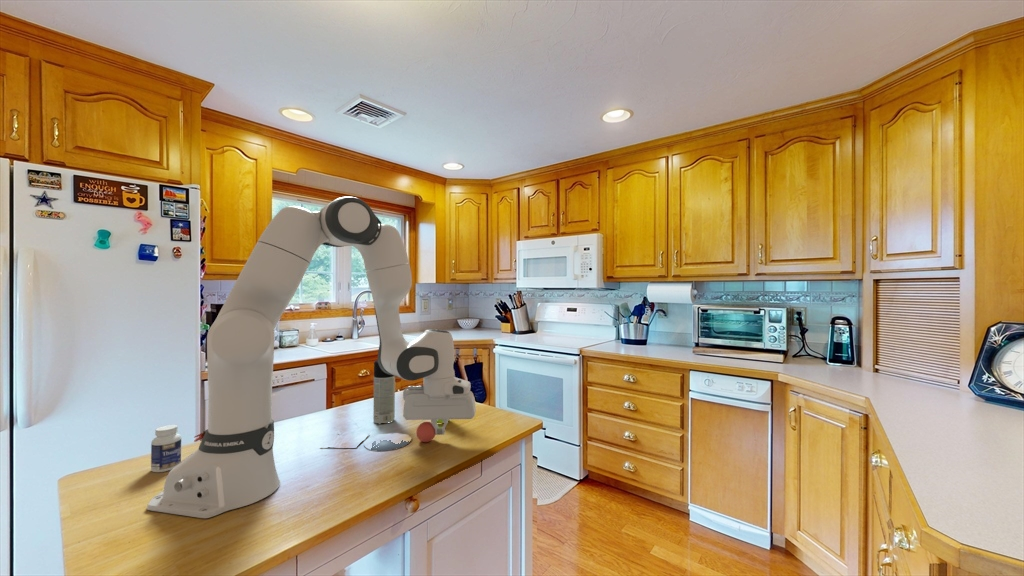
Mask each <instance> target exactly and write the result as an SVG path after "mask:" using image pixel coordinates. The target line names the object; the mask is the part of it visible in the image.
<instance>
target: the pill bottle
mask: <svg viewBox="0 0 1024 576" xmlns="http://www.w3.org/2000/svg"><path fill="white" fill-rule="evenodd" d="M178 429H179V428H178V425H177V424H168V425H167V424H166V425H163V426H159V427H157V428H156V429H155V434H154V435H155V436H156V437H154V438H153V439H152V441H151V444H150V449H151V450H150V452H151V453H150V454H151V455H150V470H151V472H153V473H163V472H170V471H171V470H172V469H173V468H174V467H175V466H176V465H178V464H179V463H180V462H182V435H181V434H180V433H178Z"/></svg>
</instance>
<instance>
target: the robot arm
mask: <svg viewBox="0 0 1024 576" xmlns="http://www.w3.org/2000/svg"><path fill="white" fill-rule="evenodd" d="M321 246H328V247H333V248H334V247H335V248H342V247H354V248H355V249H356V250H357V251H358V252H359V253H360V255H361V257H362V258H361V259H363V264H364V268H365V269H364V270H365V273H366V279H367V281H368V285H369V289H370V293H371V296H372V297H371V298H372V301H373V307H374V314H375V320H376V325H377V331H378V337H379V338H378V339H379V346H378V352H377V360H378V364H379V367H380V368H381V370H382V371H384V372H385V373H387V374H389V375H394V376H395V377H397V378H399V379H402V380H405V381H410V382H412V381H413V382H414V381H418V380H421V379H422V381H423V382H422V383H423V385H416V386H415V385H407V386H408V387H405V389H403V391H402V399H403V401H404V402H403V403H404V404H403V413H402V414H403V418H404V419H405V420H406V421H409V420H410V421H415V420H417V421H420V420H421V421H423V420H426V421H427V420H428V421H429V420H430V422H431V424H432V425H433V427H434V429H435V436H436V435H437V436H440V435H441V436H442V435H443V436H444V435H446V434H445V433H446V427H447V425H448V423H449V422H450V420H473V418H474V417H475V415H476V412H477V411H476V410H477V409H476V401H475V396H474V393H473V391H471V388H472V387H471V386H472V385H471V382H470V381H468V380H466V379H463V378H458V377H456V375H455V374H456V373H455V369H454V363H455V344H454V340H453V336H452V333H451V332H450V331H448V330H444V329H437V328H428V329H425V330H424V332H423V333H422V334H421V335H419V336H418V337H416V338H415V339H413V340H411V341H409V342H408V341H407V340H406V338H405V337H404V335H403V330H402V323H401V318H400V305H401V303H402V301H403V299H404V298H405V297H406V296H408V294H409V293H410V292H411V289H412V286H413V283H412V282H413V281H412V280H413V277H412V269H411V266H410V261H409V257H408V253H407V250H406V247H405V244H404V242H403V239H402V236H401V234H400V232H399V230H398V229H397V228H396V227H394V225H393V226H392V225H390V224H386V223H382V221H381V220H380V218H378V216H377V214H375V212H374V211H373V209H372V208H371V206H370V205H369V204H368V203H367V202H365V201H364V200H362V199H360V198H358V197H354V196H342V197H338V198H336V199H334V200H333V201H330V202H329V203H327V204H326V205H324V207H322V208H320V209H319V210H318V211H311V210H309V209H307V208H304V207H301V206H297V205H289V206H285V207H283V208H281V209H280V210H279V211H278V212H277V213H276V214H275V215H274V217H273V218H272V219H271V220H270V222H269V223H268V225H267V226H266V228H264V231H262V233H261V235H260V237H259V239H258V240H257V242H256V244H255V246H254V247H253V249H252V251H251V253H250V255H249V256H248V258H247V261H246V262H245V264H244V266H243V268H242V269H241V271H240V273H239V275H238V277H237V279H236V281H235V282H234V285H233V286H232V287H231V288H232V289H231V290H230V292H229V294H228V296H227V298H226V299H225V301H224V303H223V305H222V307H221V309H220V310H219V312H218V315H217V317H216V318H215V320H214V322H213V323H212V324H211V326H210V327H209V329H208V332H207V335H206V336H207V337H206V361H207V364H206V365H207V390H208V392H207V395H208V397H207V400H208V403H207V407H208V408H207V409H208V410H207V411H208V412H207V413H208V414H207V429H205V430H204V431H202V432H201V433H199V434H197V435H195V436H193V438H196V439H194V441H193V442H194V443H195V442H198V441H200V440H201V441H200V444H199V446H198V449H196V450H194V451H193V452H192V453H190V455H188V456H187V457H186V458H184V459H183V460H181V462H180V463H179V464H178V465H176V466H175V467H174V468H173V469H172V470H169V471H168V474H167V475H166V478H165V481H164V485H163V486H164V487H163V490H162V491H160V492H159V493H158V494H156V495H155V496H154V497H152V498H151V499H150V500H149V502H148V503H147V507H146V509H147V510H148V511H152V512H159V513H165V514H172V515H179V516H184V517H185V516H186V517H192V518H198V519H209V518H212V517H216V516H218V515H220V514H222V513H225V512H228V511H231V510H235V509H238V508H243V507H245V506H248V505H252V504H254V503H256V502H258V501H261V500H263V499H265V498H267V497H269V496H270V495H271V494H273V493H274V492H276V491H277V489H278V488H279V487H280V485H281V481H280V479H279V476H278V472H277V469H276V468H277V467H276V464H275V457H274V450H273V449H274V441H275V440H274V439H275V422H274V419H273V415H272V414H273V413H272V412H273V408H272V406H273V375H274V373H273V372H274V357H275V355H274V353H275V352H274V351H275V328H276V326H277V325H278V323H279V321H280V319H281V317H282V316H283V314H284V312H285V310H286V309H287V307H288V305H289V304H290V303H291V301H292V299H293V297H294V295H295V294H296V292H297V290H298V288H299V286H300V284H301V282H302V280H303V278H304V275H305V274H306V272H307V270H308V268H309V266H310V264H311V262H312V260H313V257H314V255H315V253H316V252H317V250H318V249H319V248H320V247H321ZM438 419H443V423H444V424H442V426H439V425H438V424H437V423H436V422H437V420H438ZM448 421H449V422H448Z"/></svg>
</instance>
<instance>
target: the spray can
mask: <svg viewBox="0 0 1024 576" xmlns="http://www.w3.org/2000/svg"><path fill="white" fill-rule="evenodd" d="M395 388H396V376H394V375H389V374H387V373H385V372H384V371H382V370H381V368H380V367H379V364H378V359H376V360H374V363H373V413H372V414H373V417H372V419H373V423H374V422H375V423H374V424H376V423H387V424H389V423H388V422H390V423H392V422H394V421H395V417H396V416H395V415H396V413H395V411H396V409H395V407H396V406H395V404H396V403H395V402H396V401H395V400H396V399H395V398H396V391H395V390H396V389H395ZM393 420H394V421H393ZM391 421H392V422H391Z"/></svg>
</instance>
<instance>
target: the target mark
mask: <svg viewBox="0 0 1024 576" xmlns="http://www.w3.org/2000/svg"><path fill="white" fill-rule="evenodd" d="M412 440H413V438H412V439H411V441H412ZM408 443H409V441H408V442H406V441H404V442H403V440H402V441H401V443H400V444H399V443H398V444H395V443H393V442H391V440H389V441H387V440H383V441H381V440H380V443H378V444H377V445H376V441H374V442H373V443H372V448H371V450H370V451H372V450H377V451H376V452H388V451H387V450H389V451H393V450H392V449H395V450H397V449H396V448H399V449H401V448H400V447H402V448H404V447H406V446H408V445H409V444H410V443H409V444H408ZM407 444H408V445H407ZM374 445H375V446H374ZM405 445H406V446H405ZM373 446H374V447H373ZM378 446H379V447H378ZM403 446H404V447H403ZM376 447H377V448H376Z"/></svg>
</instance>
